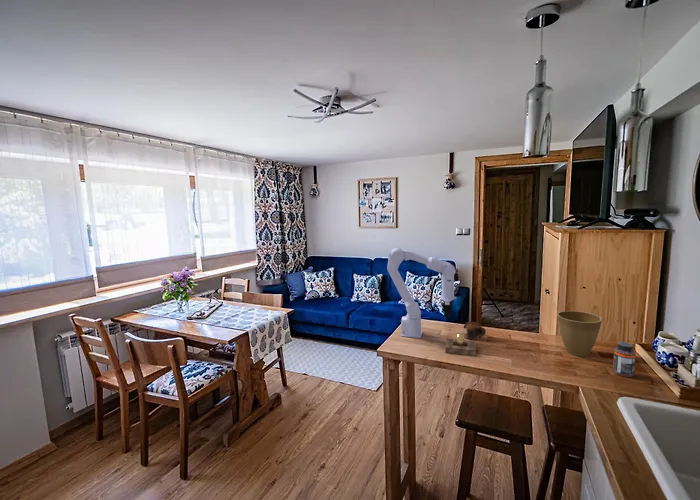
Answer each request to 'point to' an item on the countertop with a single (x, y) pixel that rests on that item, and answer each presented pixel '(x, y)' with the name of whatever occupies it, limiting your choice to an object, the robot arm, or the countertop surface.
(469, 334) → the pottery mug
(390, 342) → the countertop surface
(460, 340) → the pin
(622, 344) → the supplement bottle
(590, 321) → the plant pot
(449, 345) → the slot block
